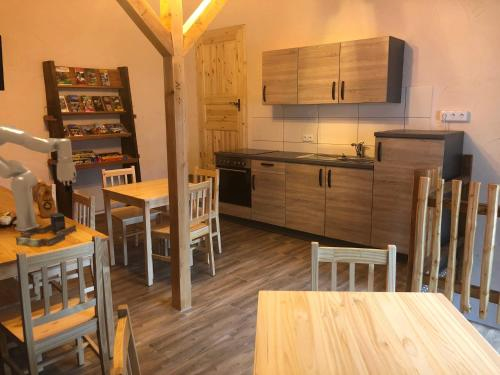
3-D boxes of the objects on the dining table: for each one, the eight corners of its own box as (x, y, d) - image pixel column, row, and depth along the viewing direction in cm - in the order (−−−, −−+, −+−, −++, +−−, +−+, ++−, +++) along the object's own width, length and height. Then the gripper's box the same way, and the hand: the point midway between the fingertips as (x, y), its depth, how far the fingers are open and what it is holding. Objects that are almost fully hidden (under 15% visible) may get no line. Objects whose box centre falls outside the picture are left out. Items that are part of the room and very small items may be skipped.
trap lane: (9, 243, 220) (8, 237, 219) (48, 228, 245) (47, 222, 245) (46, 247, 213) (45, 241, 213) (82, 231, 239) (81, 225, 238)
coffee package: (40, 219, 264) (36, 184, 259) (38, 214, 274) (34, 181, 270) (57, 216, 269) (53, 183, 264) (55, 212, 279) (51, 179, 275)
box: (66, 233, 236) (64, 215, 234) (55, 235, 233) (53, 217, 230) (62, 230, 242) (60, 212, 240) (51, 232, 239) (49, 214, 236)
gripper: (49, 161, 238) (53, 192, 242) (72, 161, 234) (75, 194, 237) (59, 159, 245) (62, 189, 249) (81, 159, 241) (84, 191, 244)
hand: (68, 191), depth 243 cm, fingers closed
